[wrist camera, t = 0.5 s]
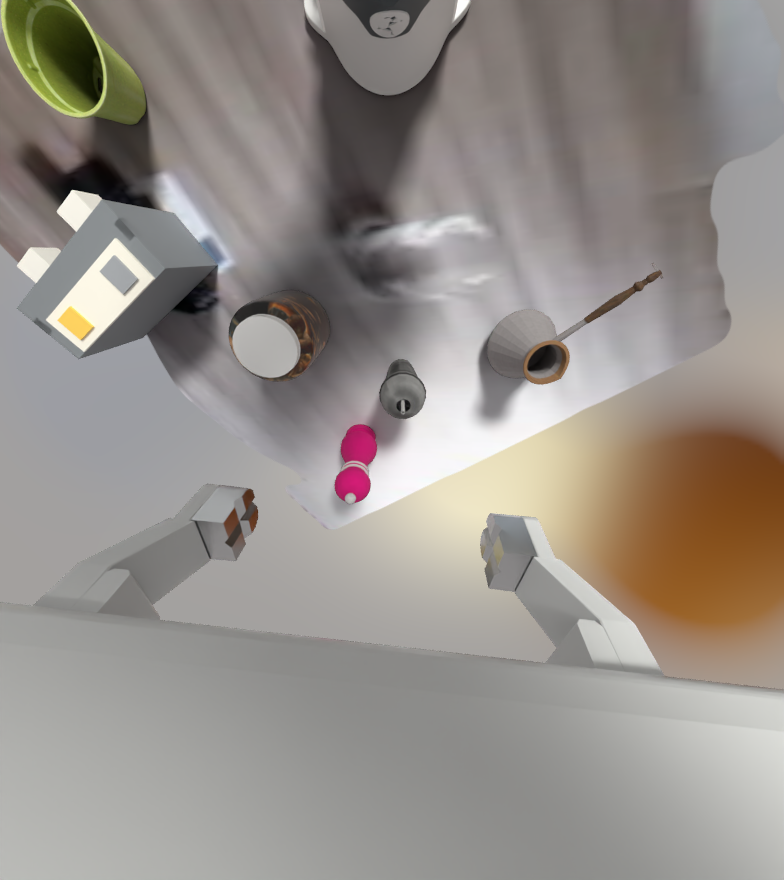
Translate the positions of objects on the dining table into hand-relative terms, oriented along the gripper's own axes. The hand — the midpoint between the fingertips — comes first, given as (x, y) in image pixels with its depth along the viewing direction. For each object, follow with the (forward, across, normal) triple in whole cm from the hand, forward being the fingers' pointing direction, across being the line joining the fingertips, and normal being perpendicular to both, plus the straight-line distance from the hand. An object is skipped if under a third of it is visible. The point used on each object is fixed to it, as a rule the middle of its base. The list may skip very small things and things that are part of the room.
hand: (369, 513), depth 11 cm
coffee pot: (+50, -23, +1) cm, 55 cm away
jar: (+47, +19, +6) cm, 51 cm away
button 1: (+38, +39, -7) cm, 55 cm away
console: (+45, +41, 0) cm, 61 cm away
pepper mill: (+47, +7, +27) cm, 55 cm away
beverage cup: (+48, 0, +12) cm, 49 cm away
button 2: (+38, +47, -1) cm, 60 cm away
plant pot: (+46, +38, -21) cm, 64 cm away
